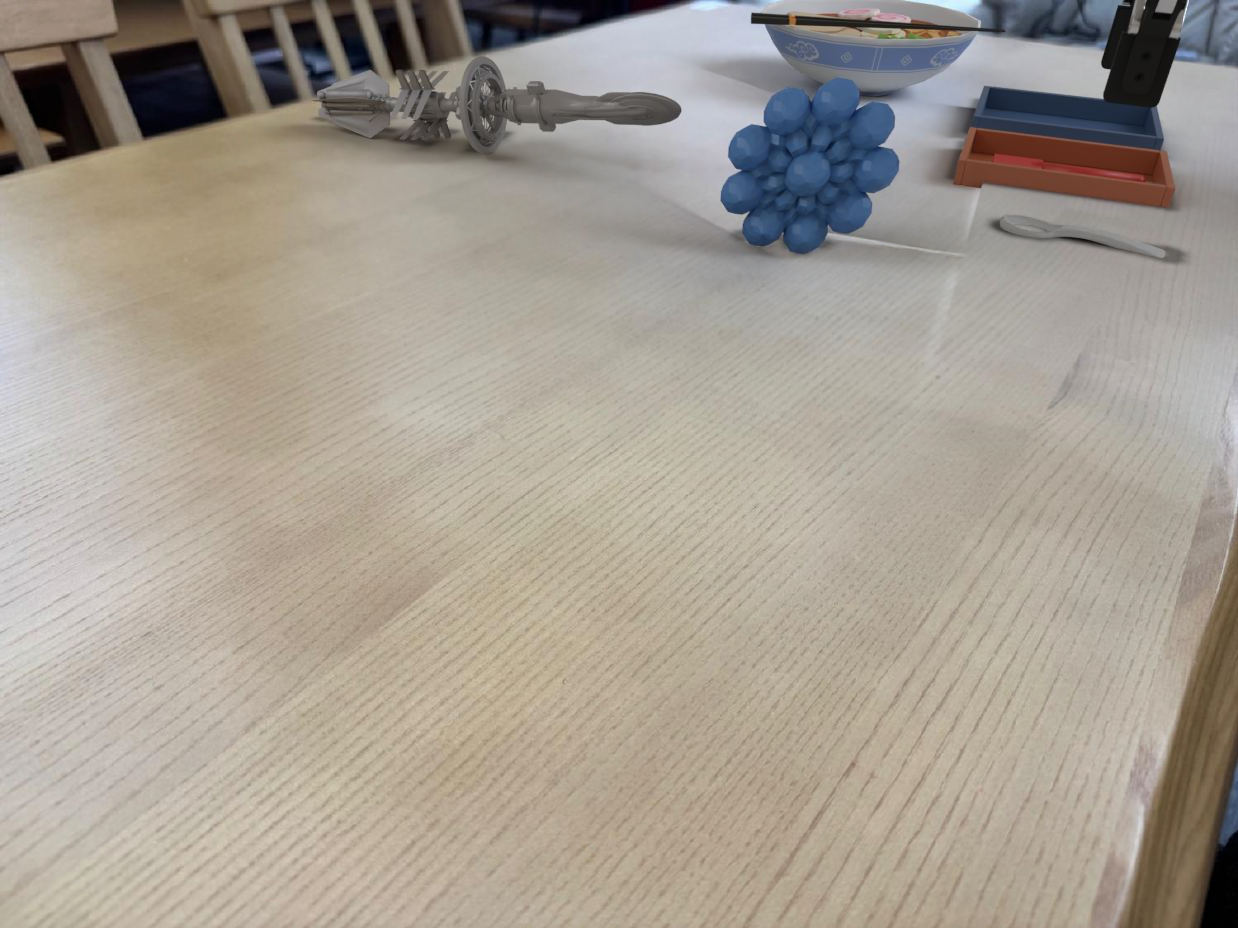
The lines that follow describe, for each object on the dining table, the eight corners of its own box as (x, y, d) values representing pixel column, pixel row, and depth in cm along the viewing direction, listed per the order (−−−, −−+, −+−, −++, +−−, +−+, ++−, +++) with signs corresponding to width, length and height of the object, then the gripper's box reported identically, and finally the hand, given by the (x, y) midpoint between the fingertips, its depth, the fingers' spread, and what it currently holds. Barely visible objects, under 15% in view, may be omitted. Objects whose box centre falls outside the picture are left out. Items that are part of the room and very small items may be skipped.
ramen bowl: (957, 69, 117) (972, -7, 112) (997, 124, 98) (1018, 36, 93) (744, 58, 119) (750, -16, 114) (743, 111, 100) (751, 24, 95)
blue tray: (1148, 129, 98) (1156, 104, 96) (1155, 166, 88) (1164, 139, 87) (978, 109, 102) (984, 85, 101) (967, 142, 93) (973, 116, 92)
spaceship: (658, 96, 74) (687, 34, 78) (276, 92, 86) (318, 38, 90) (675, 181, 80) (701, 120, 84) (317, 167, 92) (354, 113, 96)
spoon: (999, 227, 75) (1007, 201, 74) (1167, 269, 71) (1179, 243, 70) (992, 240, 73) (1001, 214, 71) (1165, 284, 69) (1178, 258, 68)
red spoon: (1142, 184, 83) (1146, 170, 82) (1143, 196, 81) (1148, 181, 80) (991, 164, 86) (995, 151, 86) (989, 175, 84) (992, 161, 83)
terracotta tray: (1157, 179, 85) (1167, 151, 84) (1164, 218, 78) (1175, 188, 76) (964, 153, 90) (969, 126, 89) (952, 188, 82) (958, 159, 81)
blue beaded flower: (879, 238, 73) (911, 67, 66) (882, 275, 67) (917, 92, 61) (722, 224, 74) (736, 55, 68) (712, 258, 69) (727, 79, 62)
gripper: (1333, -233, 48) (1200, 128, 57) (1278, -226, 61) (1178, 66, 71) (1163, -239, 50) (1063, 110, 59) (1147, -231, 63) (1067, 53, 73)
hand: (1126, 86), depth 65 cm, fingers open, 9 cm apart
